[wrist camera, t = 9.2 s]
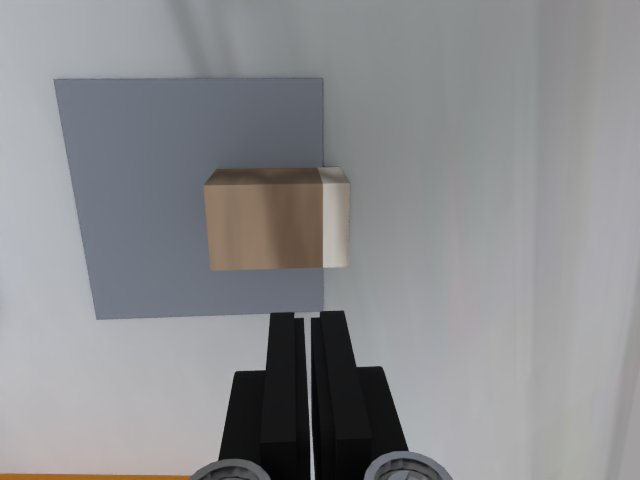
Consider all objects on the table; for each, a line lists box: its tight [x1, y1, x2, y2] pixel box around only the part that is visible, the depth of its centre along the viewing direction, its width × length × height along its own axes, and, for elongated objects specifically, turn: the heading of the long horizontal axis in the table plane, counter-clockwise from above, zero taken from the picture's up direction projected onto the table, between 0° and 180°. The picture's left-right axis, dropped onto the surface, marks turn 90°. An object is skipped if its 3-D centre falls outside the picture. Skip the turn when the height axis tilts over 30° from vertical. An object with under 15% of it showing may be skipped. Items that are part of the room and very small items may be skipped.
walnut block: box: [203, 167, 350, 271], centre depth 29 cm, size 5×5×8 cm
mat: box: [53, 78, 323, 320], centre depth 31 cm, size 16×16×1 cm
